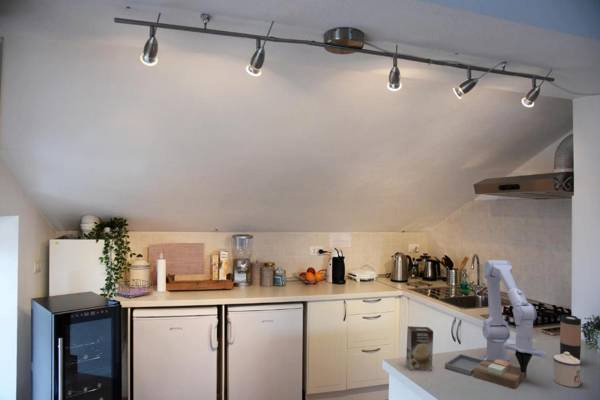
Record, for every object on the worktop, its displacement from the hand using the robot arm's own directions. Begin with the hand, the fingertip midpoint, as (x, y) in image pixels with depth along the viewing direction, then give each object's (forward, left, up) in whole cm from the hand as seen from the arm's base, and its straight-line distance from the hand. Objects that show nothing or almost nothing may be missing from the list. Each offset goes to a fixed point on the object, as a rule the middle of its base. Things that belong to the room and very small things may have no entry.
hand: (523, 371), depth 160 cm
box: (+3, -21, -4) cm, 22 cm away
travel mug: (-36, +9, -4) cm, 38 cm away
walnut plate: (+3, -8, -4) cm, 9 cm away
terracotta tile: (0, -8, -1) cm, 8 cm away
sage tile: (+7, -8, -1) cm, 10 cm away
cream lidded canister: (-12, +12, -4) cm, 18 cm away
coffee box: (+18, -35, -4) cm, 39 cm away
